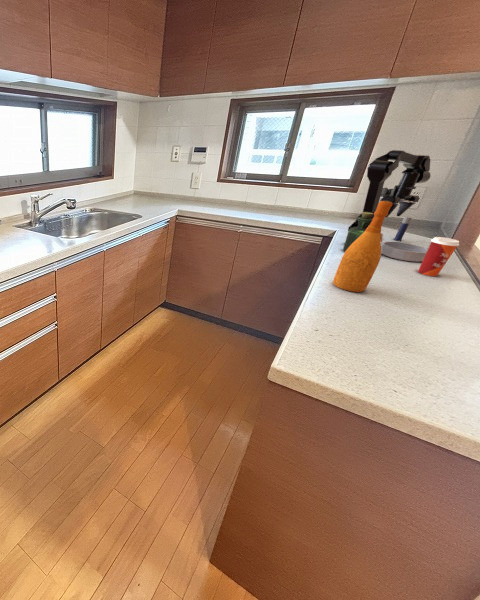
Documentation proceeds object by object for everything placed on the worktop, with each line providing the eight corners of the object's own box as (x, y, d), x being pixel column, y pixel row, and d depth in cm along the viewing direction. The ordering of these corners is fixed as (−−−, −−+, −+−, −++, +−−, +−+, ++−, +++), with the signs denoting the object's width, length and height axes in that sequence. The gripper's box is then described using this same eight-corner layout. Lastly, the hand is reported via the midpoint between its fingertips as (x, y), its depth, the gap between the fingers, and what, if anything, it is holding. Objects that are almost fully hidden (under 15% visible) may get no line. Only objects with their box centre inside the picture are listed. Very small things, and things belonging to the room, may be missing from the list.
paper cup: (436, 278, 124) (456, 243, 118) (410, 271, 130) (428, 237, 124) (444, 275, 127) (464, 240, 121) (419, 268, 133) (437, 235, 127)
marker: (399, 241, 169) (410, 218, 163) (392, 239, 171) (403, 216, 166) (402, 240, 170) (413, 217, 164) (395, 238, 172) (406, 216, 167)
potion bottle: (355, 255, 146) (373, 215, 138) (336, 250, 153) (352, 211, 145) (365, 253, 150) (383, 214, 141) (346, 248, 156) (362, 210, 148)
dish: (414, 264, 138) (420, 254, 135) (371, 253, 150) (375, 243, 148) (431, 259, 144) (437, 249, 142) (388, 248, 157) (393, 239, 155)
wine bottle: (367, 295, 109) (411, 205, 95) (332, 288, 114) (369, 201, 100) (363, 285, 117) (403, 200, 103) (330, 279, 121) (364, 196, 107)
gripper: (400, 181, 163) (386, 212, 171) (375, 182, 158) (361, 214, 165) (427, 184, 154) (411, 217, 161) (401, 185, 148) (386, 219, 156)
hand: (391, 216), depth 161 cm, fingers open, 9 cm apart
